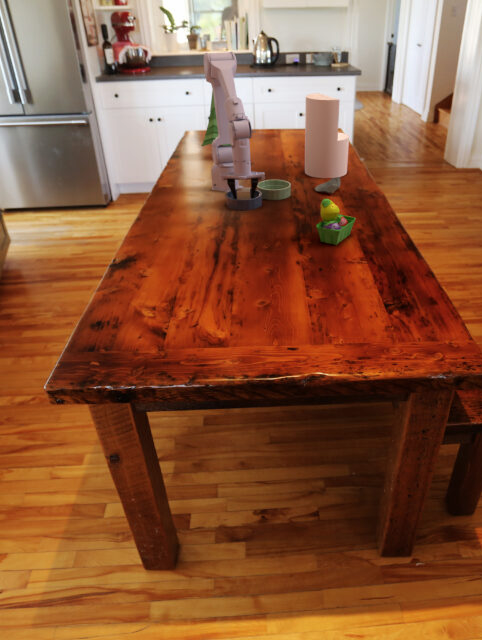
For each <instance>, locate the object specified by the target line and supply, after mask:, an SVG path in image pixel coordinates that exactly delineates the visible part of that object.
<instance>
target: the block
mask: <svg viewBox="0 0 482 640" xmlns="http://www.w3.org/2000/svg"><path fill="white" fill-rule="evenodd" d="M250 189H251V186H249V187H242V188H237V199H240V200H244V199H251V198H250Z"/></svg>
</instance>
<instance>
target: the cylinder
mask: <svg viewBox="0 0 482 640" xmlns="http://www.w3.org/2000/svg"><path fill="white" fill-rule="evenodd" d="M304 117H305V119H304V120H305V121H304V123H305V125H304V127H305V128H304V174H305V175H307V176H309V177H312V178H318V179H333V178H336V177H340V178H341V177H344V176H345V175H347V173H348V164H349V163H348V162H349V145H350V135H349V134H348V133H344V132H339V121H340V120H339V117H340V99H339V98H335V97H332V96H329V95H325V94H324V93H319V92H316V93H315V92H314V93H309V94H306V95H305V116H304Z"/></svg>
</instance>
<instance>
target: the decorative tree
mask: <svg viewBox="0 0 482 640" xmlns="http://www.w3.org/2000/svg"><path fill="white" fill-rule="evenodd" d="M217 137H218V128H217V120H216V112H215V103H214V95H213V89H212V93H211V99H210V110H209V118H208V123H207V127H206V131H205V134H204V137H203V140H202V144H201V147H204V146H208V145H212V142H213V141H214V140H215V139H216V138H217ZM227 145H231V144H224V145H219V146H227Z"/></svg>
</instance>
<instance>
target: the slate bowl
mask: <svg viewBox="0 0 482 640" xmlns="http://www.w3.org/2000/svg"><path fill="white" fill-rule="evenodd" d="M236 196H237V189H236ZM250 198H251V188H250ZM225 205H226V207H227V208H228V209H230V210H233V211H234V210H235V211H251V210H256V209H258V208H260V207H262V205H263V199H262V193H261V192H260V191H259V190H257V189H256V190H255V194H254V198H252V199H244V200H240V199H234V197H233V194H232V192H231V191H229V192H226V193H225Z"/></svg>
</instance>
